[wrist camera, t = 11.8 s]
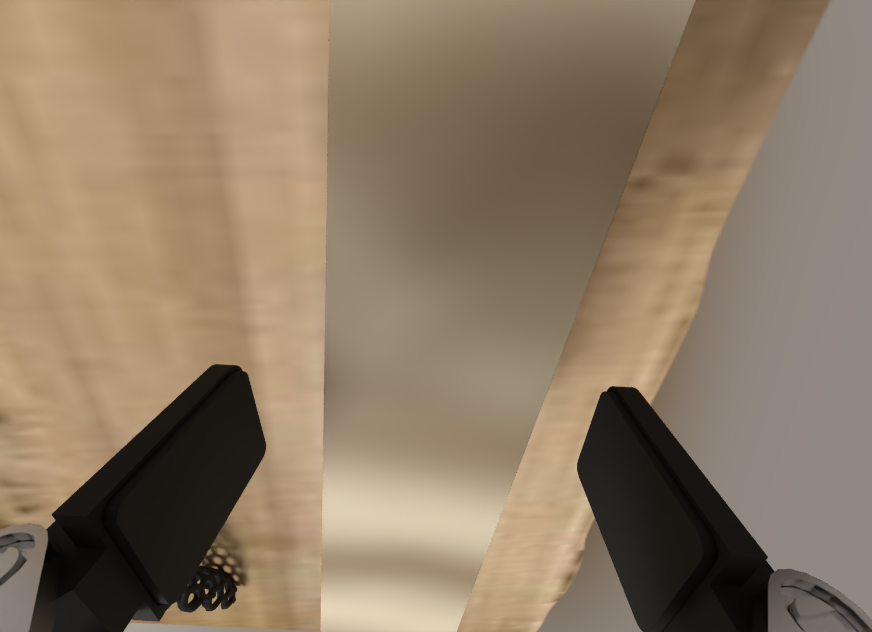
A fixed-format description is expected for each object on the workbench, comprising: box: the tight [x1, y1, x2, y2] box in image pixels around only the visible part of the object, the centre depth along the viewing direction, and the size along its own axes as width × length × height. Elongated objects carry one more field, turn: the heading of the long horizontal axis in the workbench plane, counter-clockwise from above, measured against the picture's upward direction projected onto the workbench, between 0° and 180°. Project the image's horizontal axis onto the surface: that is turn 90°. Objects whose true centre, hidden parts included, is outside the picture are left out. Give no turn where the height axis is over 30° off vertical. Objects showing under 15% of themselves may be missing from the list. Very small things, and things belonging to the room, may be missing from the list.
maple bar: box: [321, 0, 696, 632], centre depth 12 cm, size 24×6×7 cm, turn 171°
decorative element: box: [167, 566, 237, 613], centre depth 32 cm, size 22×5×6 cm, turn 7°
